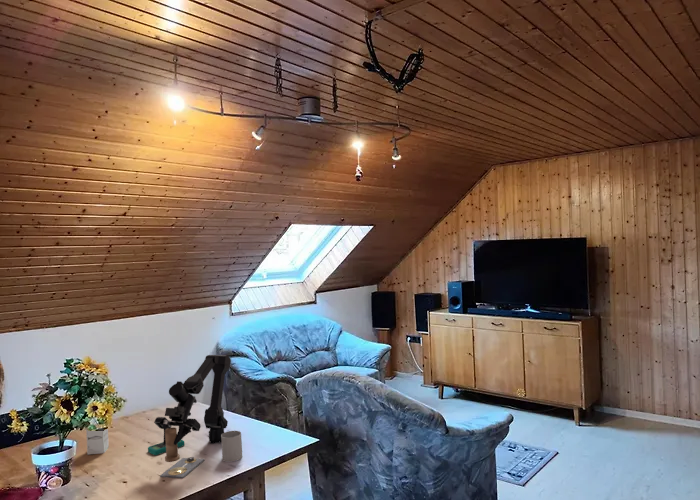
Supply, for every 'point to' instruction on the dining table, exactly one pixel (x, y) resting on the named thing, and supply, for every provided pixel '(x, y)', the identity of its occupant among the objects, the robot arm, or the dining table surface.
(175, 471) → the gauge plate
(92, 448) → the supplement box
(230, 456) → the cup
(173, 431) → the walnut post
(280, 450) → the dining table surface
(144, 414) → the dining table surface
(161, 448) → the digital multimeter
